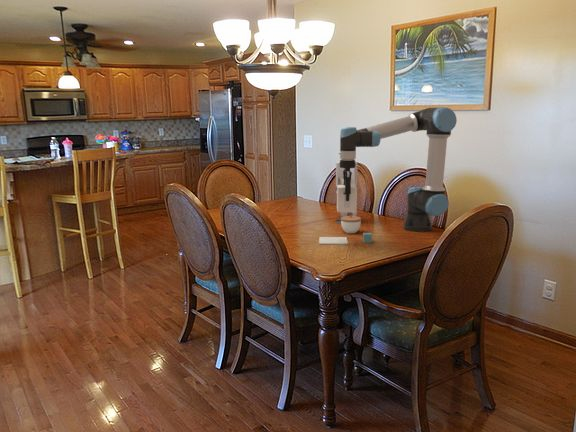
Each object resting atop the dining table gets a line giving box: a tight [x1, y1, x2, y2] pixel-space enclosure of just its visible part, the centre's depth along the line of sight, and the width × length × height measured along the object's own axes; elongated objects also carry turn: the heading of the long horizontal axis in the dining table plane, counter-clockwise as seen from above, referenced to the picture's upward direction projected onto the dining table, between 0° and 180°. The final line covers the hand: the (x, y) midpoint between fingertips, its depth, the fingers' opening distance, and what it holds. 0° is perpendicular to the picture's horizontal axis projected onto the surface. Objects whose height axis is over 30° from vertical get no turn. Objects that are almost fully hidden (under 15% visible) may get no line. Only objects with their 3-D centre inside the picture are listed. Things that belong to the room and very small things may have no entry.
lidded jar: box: [340, 215, 362, 234], centre depth 252 cm, size 11×11×9 cm
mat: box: [318, 236, 349, 246], centre depth 235 cm, size 14×12×1 cm
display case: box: [335, 160, 358, 225], centre depth 274 cm, size 11×11×35 cm
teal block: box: [362, 232, 373, 244], centre depth 234 cm, size 4×4×4 cm
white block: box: [336, 185, 358, 213], centre depth 230 cm, size 9×9×12 cm
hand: (346, 205), depth 231 cm, fingers closed on white block, 9 cm apart
